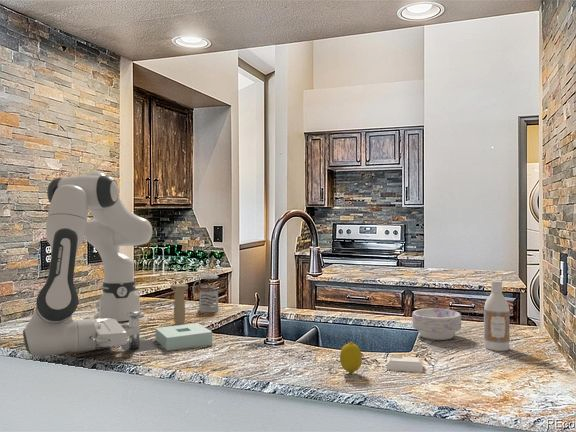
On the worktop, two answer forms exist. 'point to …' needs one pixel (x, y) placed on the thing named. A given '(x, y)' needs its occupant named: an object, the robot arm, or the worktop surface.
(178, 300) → the handle
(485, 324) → the bath foam
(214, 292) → the french press
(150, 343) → the mat
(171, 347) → the hole block
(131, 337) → the pin
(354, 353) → the lemon
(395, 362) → the soap bar
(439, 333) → the marbled white bowl
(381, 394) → the worktop surface
